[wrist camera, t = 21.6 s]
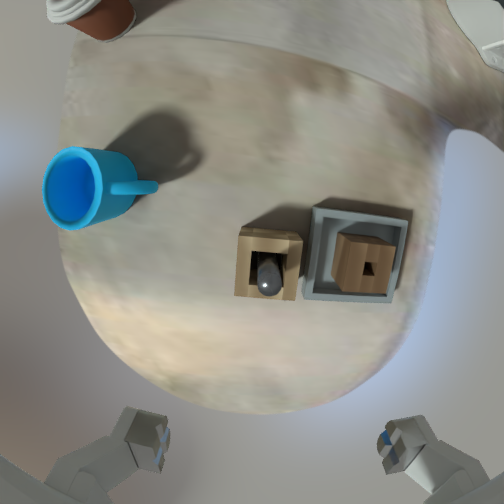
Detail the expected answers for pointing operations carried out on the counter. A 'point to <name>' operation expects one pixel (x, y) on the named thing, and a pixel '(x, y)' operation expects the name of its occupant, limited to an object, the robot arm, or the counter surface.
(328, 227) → the tray
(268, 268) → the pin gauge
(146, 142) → the counter surface
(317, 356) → the counter surface
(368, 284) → the block
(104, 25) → the coffee cup
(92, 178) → the mug
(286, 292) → the block
